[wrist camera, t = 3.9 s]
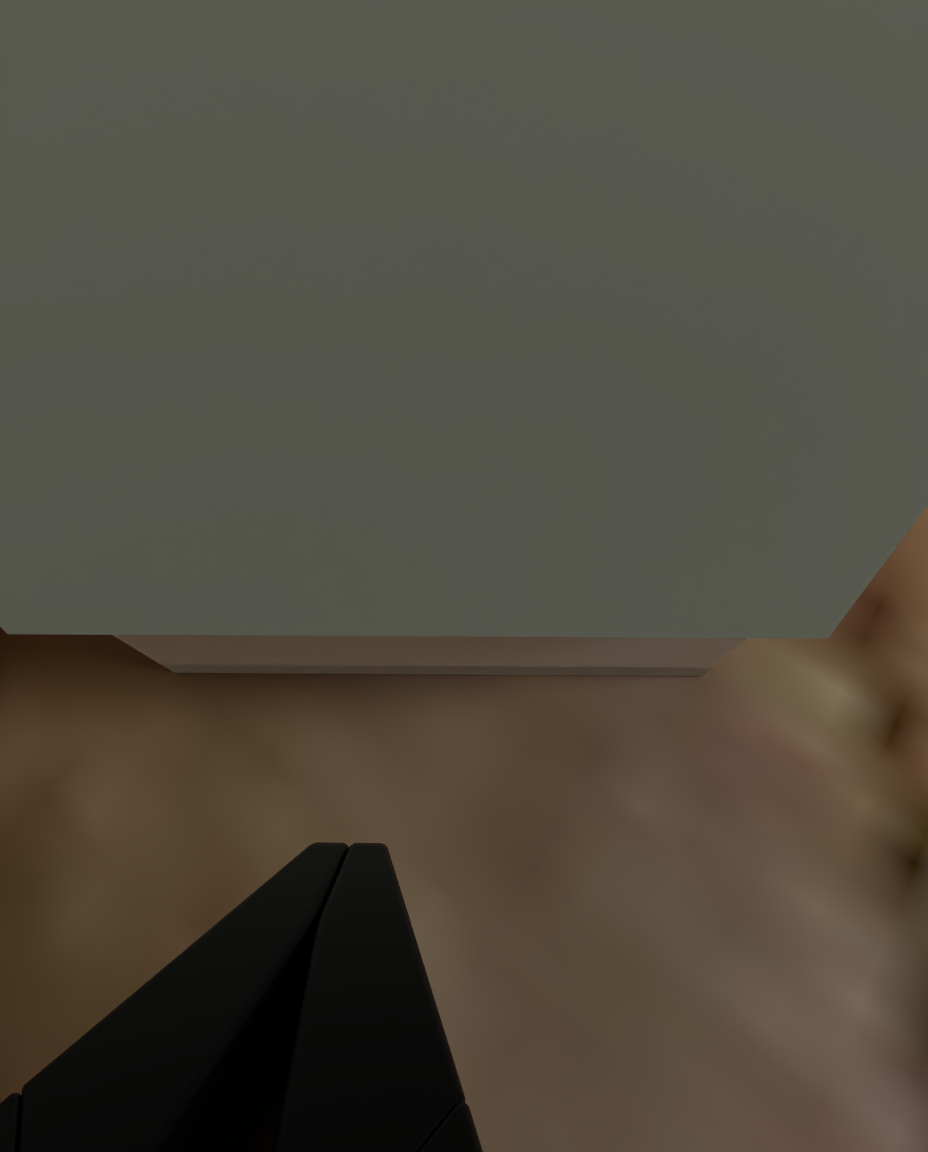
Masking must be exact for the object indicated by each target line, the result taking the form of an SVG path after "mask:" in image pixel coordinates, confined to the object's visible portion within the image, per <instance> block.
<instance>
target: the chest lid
mask: <svg viewBox="0 0 928 1152" xmlns="http://www.w3.org/2000/svg"><path fill="white" fill-rule="evenodd" d="M927 505H928V0H0V627H1V628H2V629H3V630H4V631H5V632H6V633H7V634H71V635H265V636H460V637H655V638H829V636H830V635H831V634H832V632H833V631H834V630H835V628H836V627H837V626H838V624H839V623H840V622H841V620H842V619H843V618H844V616H845V615H846V614H847V612H848V611H849V610H850V608H851V607H852V606H853V604H854V603H855V601H856V600H857V599H858V597H859V596H860V595H861V593H862V592H863V591H864V589H865V588H866V587H867V585H868V584H869V583H870V581H871V580H872V579H873V577H874V576H875V575H876V573H877V572H878V571H879V569H880V568H881V567H882V565H883V564H884V563H885V561H886V560H887V559H888V557H889V556H890V555H891V553H892V552H893V551H894V549H895V548H896V547H897V545H898V544H899V543H900V541H901V540H902V539H903V537H904V536H905V535H906V533H907V532H908V531H909V529H910V528H911V527H912V525H913V524H914V523H915V521H916V520H917V519H918V517H919V516H920V515H921V513H922V512H923V510H924V509H925V508H926V506H927Z"/></svg>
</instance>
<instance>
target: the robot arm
mask: <svg viewBox="0 0 928 1152" xmlns="http://www.w3.org/2000/svg"><path fill="white" fill-rule="evenodd" d="M0 1152H483V1151H482V1148H481V1144H480V1141H479V1138H478V1135H477V1131H476V1128H475V1125H474V1122H473V1118H472V1115H471V1112H470V1109H469V1106H468V1105H467V1104H466V1103H465V1096H464V1093H463V1089H462V1086H461V1083H460V1080H459V1077H458V1073H457V1070H456V1067H455V1064H454V1060H453V1057H452V1054H451V1051H450V1048H449V1044H448V1041H447V1038H446V1035H445V1031H444V1028H443V1025H442V1022H441V1019H440V1015H439V1012H438V1009H437V1006H436V1002H435V999H434V996H433V993H432V990H431V986H430V983H429V980H428V977H427V973H426V970H425V967H424V964H423V961H422V957H421V954H420V951H419V948H418V944H417V941H416V938H415V935H414V932H413V928H412V925H411V922H410V919H409V915H408V912H407V909H406V906H405V903H404V899H403V896H402V893H401V890H400V886H399V883H398V880H397V877H396V873H395V870H394V867H393V864H392V861H391V857H390V854H389V851H388V848H387V846H386V845H384V844H382V843H354V844H353V845H351V846H350V847H348V845H346V844H345V843H314V844H312V845H310V846H308V847H307V848H306V849H305V850H304V851H302V852H301V853H300V854H299V855H298V856H297V857H295V858H294V859H293V860H292V861H291V862H289V863H288V864H287V865H286V866H285V867H283V868H282V869H281V870H280V871H279V872H277V873H276V874H275V875H274V876H273V877H272V878H270V879H269V880H268V881H267V882H266V883H264V884H263V885H262V886H261V887H260V888H258V889H257V890H256V891H255V892H254V893H252V894H251V895H250V896H249V897H248V898H247V899H245V900H244V901H243V902H242V903H241V904H239V905H238V906H237V907H236V908H235V909H233V910H232V911H231V912H230V913H229V914H227V915H226V916H225V917H224V918H223V919H222V920H220V921H219V922H218V923H217V924H216V925H214V926H213V927H212V928H211V929H210V930H208V931H207V932H206V933H205V934H204V935H202V936H201V937H200V938H199V939H198V940H197V941H195V942H194V943H193V944H192V945H191V946H189V947H188V948H187V949H186V950H185V951H183V952H182V953H181V954H180V955H179V956H177V957H176V958H175V959H174V960H173V961H171V962H170V963H169V964H168V965H167V966H166V967H164V968H163V969H162V970H161V971H160V972H158V973H157V974H156V975H155V976H154V977H152V978H151V979H150V980H149V981H148V982H146V983H145V984H144V985H143V986H142V987H141V988H139V989H138V990H137V991H136V992H135V993H133V994H132V995H131V996H130V997H129V998H127V999H126V1000H125V1001H124V1002H123V1003H121V1004H120V1005H119V1006H118V1007H117V1008H116V1009H114V1010H113V1011H112V1012H111V1013H110V1014H108V1015H107V1016H106V1017H105V1018H104V1019H102V1020H101V1021H100V1022H99V1023H98V1024H96V1025H95V1026H94V1027H93V1028H92V1029H91V1030H89V1031H88V1032H87V1033H86V1034H85V1035H83V1036H82V1037H81V1038H80V1039H79V1040H77V1041H76V1042H75V1043H74V1044H73V1045H71V1046H70V1047H69V1048H68V1049H67V1050H66V1051H64V1052H63V1053H62V1054H61V1055H60V1056H58V1057H57V1058H56V1059H55V1060H54V1061H52V1062H51V1063H50V1064H49V1065H48V1066H46V1067H45V1068H44V1069H43V1070H42V1071H41V1072H39V1073H38V1074H37V1075H36V1076H35V1077H33V1078H32V1079H31V1080H30V1081H29V1082H27V1083H26V1084H25V1085H24V1087H23V1089H22V1095H20V1094H19V1093H13V1094H11V1095H10V1096H8V1097H7V1098H6V1099H5V1100H4V1101H2V1102H1V1103H0Z"/></svg>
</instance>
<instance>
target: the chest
mask: <svg viewBox="0 0 928 1152" xmlns="http://www.w3.org/2000/svg"><path fill="white" fill-rule="evenodd" d="M113 636H115V637H116V638H118V639H120V640H121V641H123V642H124V643H126V644H128V645H129V646H131V647H133V648H134V649H136V650H138V651H139V652H141V653H143V654H144V655H146V656H148V657H149V658H151V659H152V660H154V661H156V662H157V663H159V664H161V665H162V666H164V667H166V668H167V669H169V670H171V671H172V672H174V673H288V674H439V675H590V676H703V675H704V674H706V673H707V672H708V671H709V670H710V669H712V668H713V667H714V666H715V665H716V664H718V663H719V662H720V661H721V660H722V659H724V658H725V657H726V656H727V655H728V654H730V653H731V652H732V651H733V650H734V649H736V648H737V647H738V646H739V645H740V644H742V643H743V642H744V641H745V640H746V639H748V638H655V637H460V636H265V635H113Z"/></svg>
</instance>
